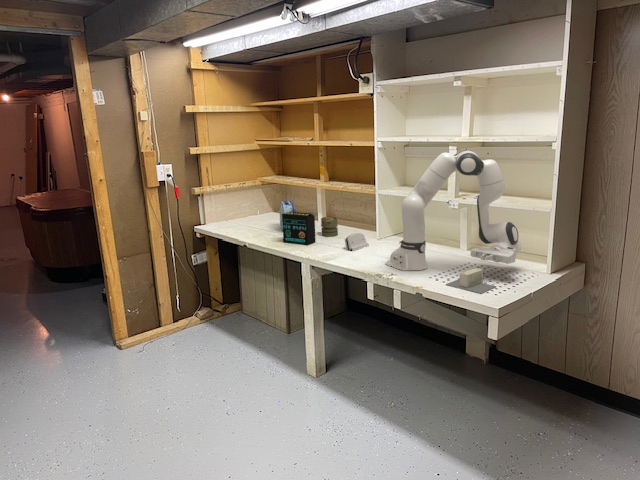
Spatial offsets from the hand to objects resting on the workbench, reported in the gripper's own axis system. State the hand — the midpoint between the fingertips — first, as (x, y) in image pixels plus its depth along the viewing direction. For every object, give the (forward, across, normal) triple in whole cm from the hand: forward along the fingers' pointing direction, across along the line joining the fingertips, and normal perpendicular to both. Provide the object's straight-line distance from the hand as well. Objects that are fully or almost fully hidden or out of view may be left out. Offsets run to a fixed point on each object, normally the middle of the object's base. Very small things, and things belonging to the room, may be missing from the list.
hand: (483, 258), depth 223 cm
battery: (+9, -127, +11) cm, 128 cm away
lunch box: (-12, -166, +10) cm, 167 cm away
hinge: (-6, -90, +11) cm, 90 cm away
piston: (-19, -128, +11) cm, 130 cm away
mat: (+10, 0, +11) cm, 15 cm away
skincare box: (+2, -1, +8) cm, 8 cm away
